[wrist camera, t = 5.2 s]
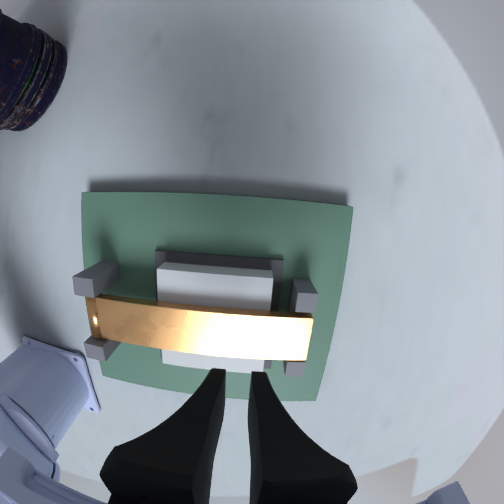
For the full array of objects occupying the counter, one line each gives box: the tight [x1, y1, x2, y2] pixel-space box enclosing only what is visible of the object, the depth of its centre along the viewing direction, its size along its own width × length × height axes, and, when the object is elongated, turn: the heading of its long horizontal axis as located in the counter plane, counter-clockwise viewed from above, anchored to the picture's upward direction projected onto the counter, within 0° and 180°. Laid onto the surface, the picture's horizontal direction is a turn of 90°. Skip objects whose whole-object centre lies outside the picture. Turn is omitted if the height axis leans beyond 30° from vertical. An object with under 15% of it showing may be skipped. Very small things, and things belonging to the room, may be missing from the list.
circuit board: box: [73, 192, 353, 401], centre depth 18 cm, size 19×16×5 cm
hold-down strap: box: [85, 293, 313, 360], centre depth 17 cm, size 15×3×2 cm, turn 86°
